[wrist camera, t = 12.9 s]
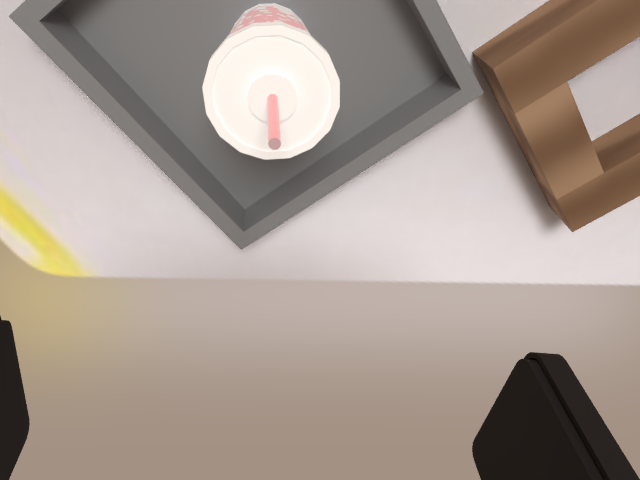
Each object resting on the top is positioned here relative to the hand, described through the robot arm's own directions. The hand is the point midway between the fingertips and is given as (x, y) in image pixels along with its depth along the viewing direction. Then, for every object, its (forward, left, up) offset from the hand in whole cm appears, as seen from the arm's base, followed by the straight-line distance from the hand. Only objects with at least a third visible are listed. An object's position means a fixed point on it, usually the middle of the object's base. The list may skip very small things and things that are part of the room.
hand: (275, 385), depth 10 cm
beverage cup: (0, 0, -25) cm, 25 cm away
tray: (0, 0, -26) cm, 26 cm away
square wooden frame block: (-15, -17, -26) cm, 34 cm away
